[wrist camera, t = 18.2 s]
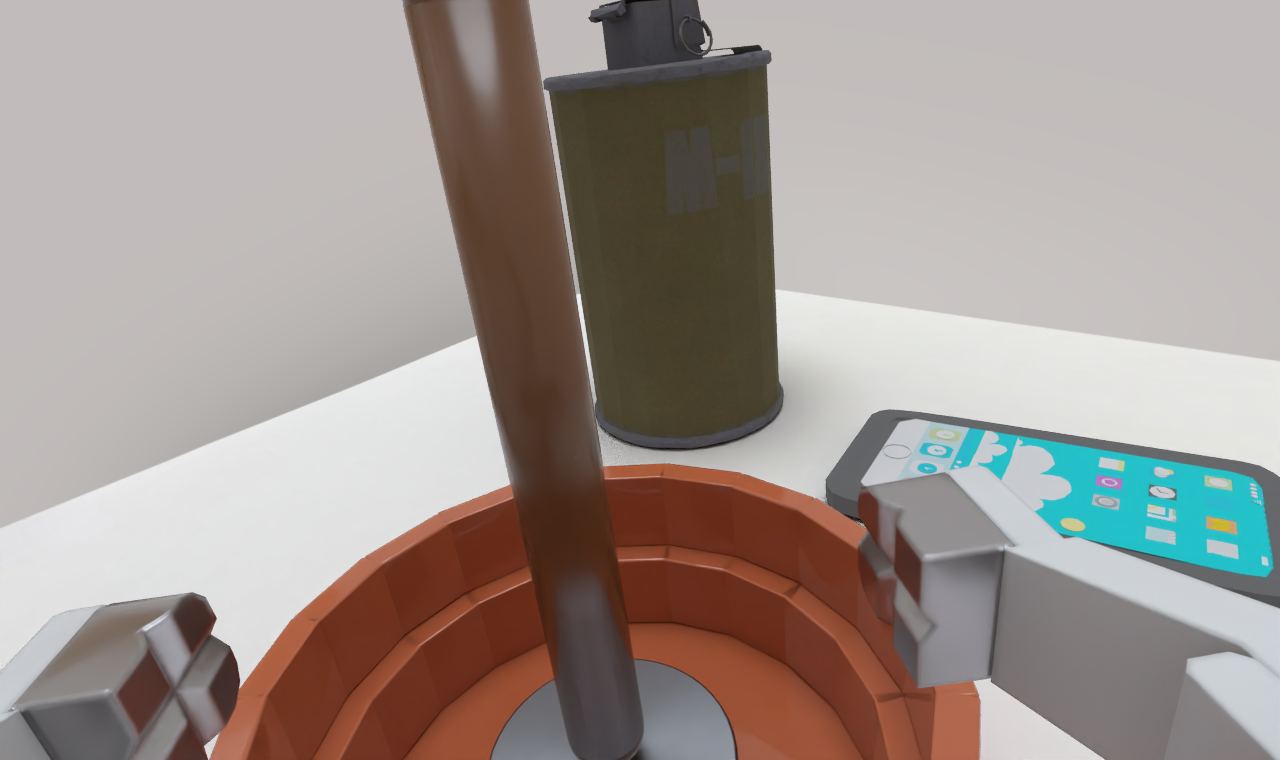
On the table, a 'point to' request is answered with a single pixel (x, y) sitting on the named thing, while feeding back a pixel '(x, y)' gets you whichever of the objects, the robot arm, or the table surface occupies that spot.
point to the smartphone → (1093, 492)
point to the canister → (672, 227)
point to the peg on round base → (544, 397)
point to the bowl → (658, 623)
